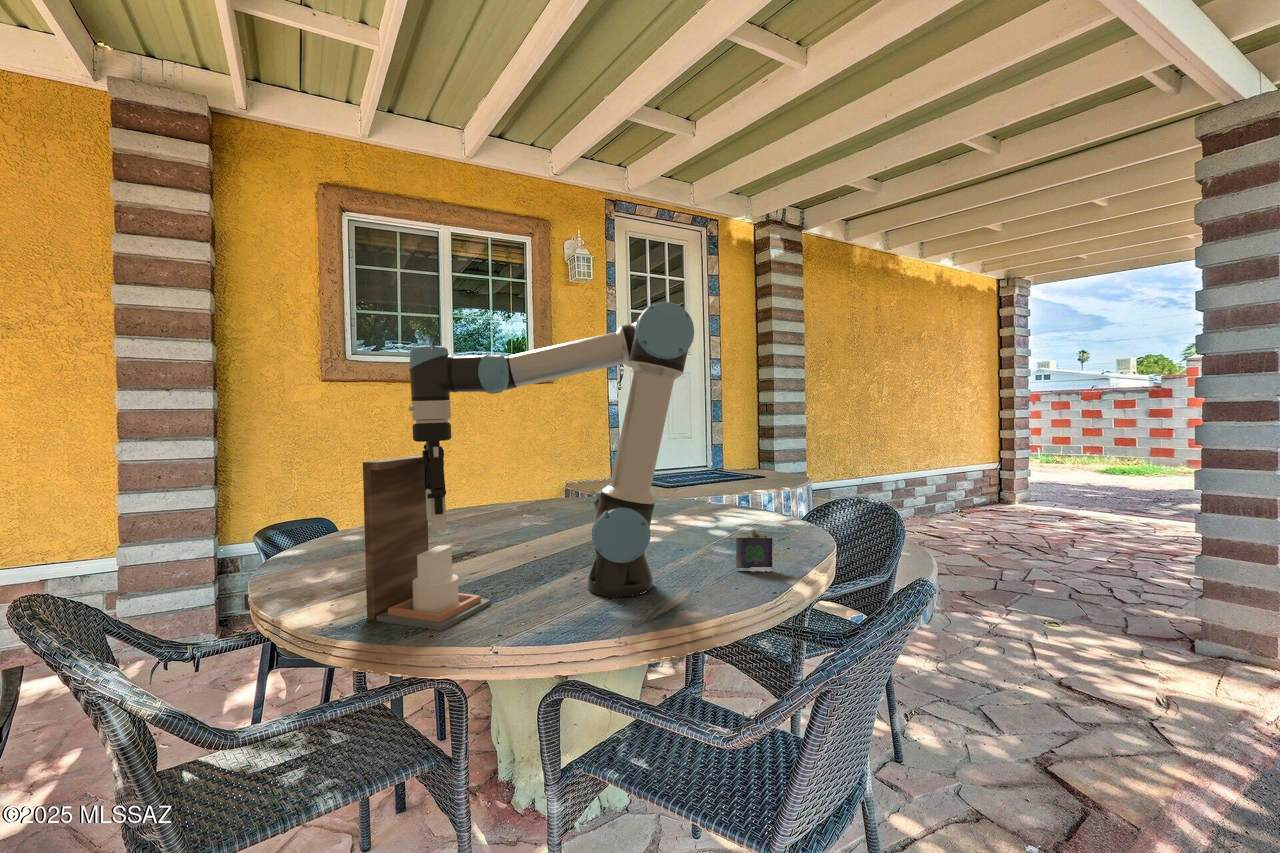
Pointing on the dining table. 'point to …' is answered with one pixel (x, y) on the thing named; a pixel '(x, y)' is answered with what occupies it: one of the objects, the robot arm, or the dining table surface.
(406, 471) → the brown wooden panel
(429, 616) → the square coaster tray
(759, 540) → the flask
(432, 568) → the cylinder with rectangular tab
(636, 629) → the dining table surface
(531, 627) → the dining table surface
